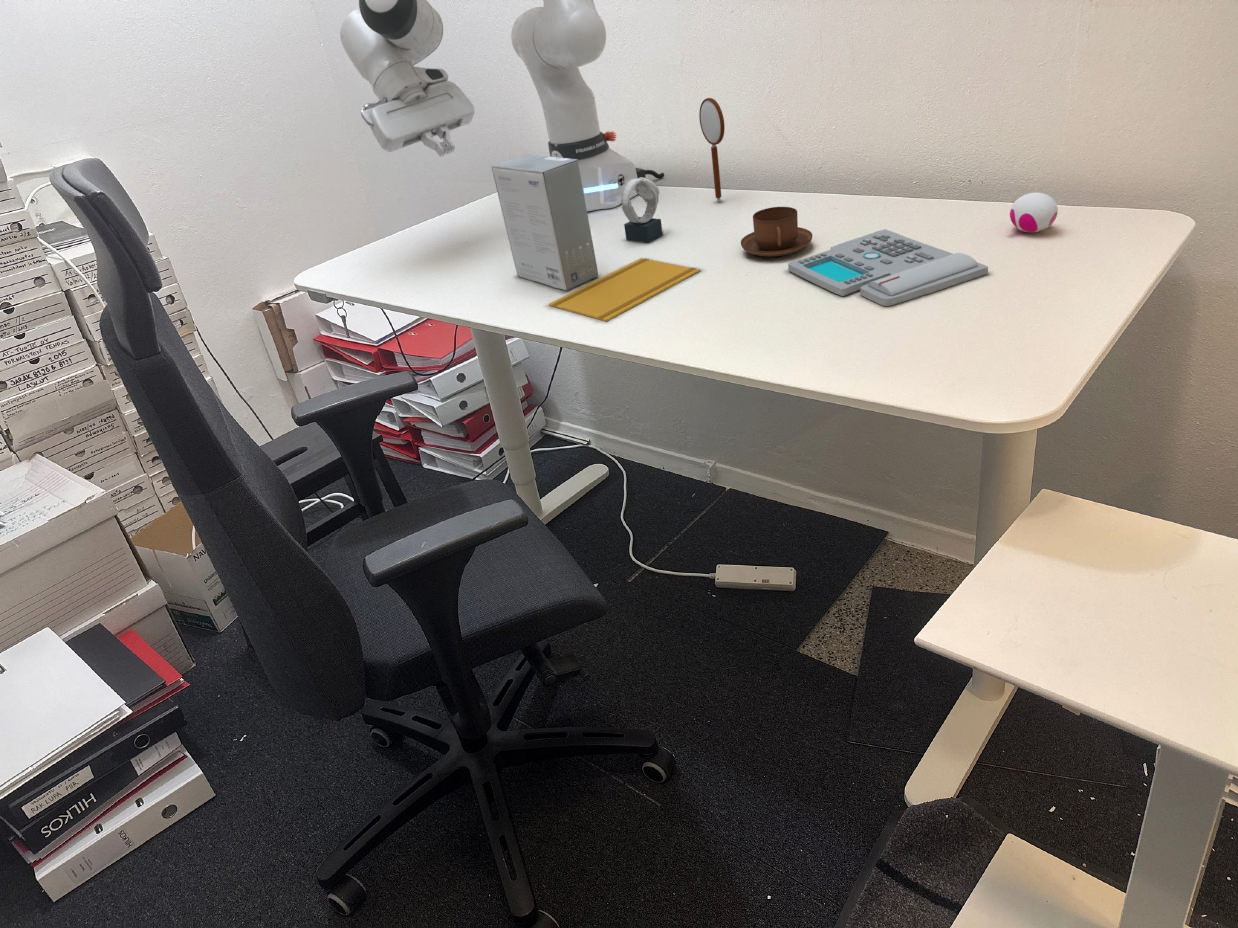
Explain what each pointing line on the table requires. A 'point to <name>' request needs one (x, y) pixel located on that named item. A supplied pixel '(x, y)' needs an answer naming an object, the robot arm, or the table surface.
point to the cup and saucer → (776, 233)
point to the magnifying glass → (713, 134)
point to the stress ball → (1033, 212)
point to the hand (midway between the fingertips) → (448, 152)
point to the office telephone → (887, 268)
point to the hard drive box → (546, 219)
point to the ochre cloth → (624, 289)
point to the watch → (646, 225)
